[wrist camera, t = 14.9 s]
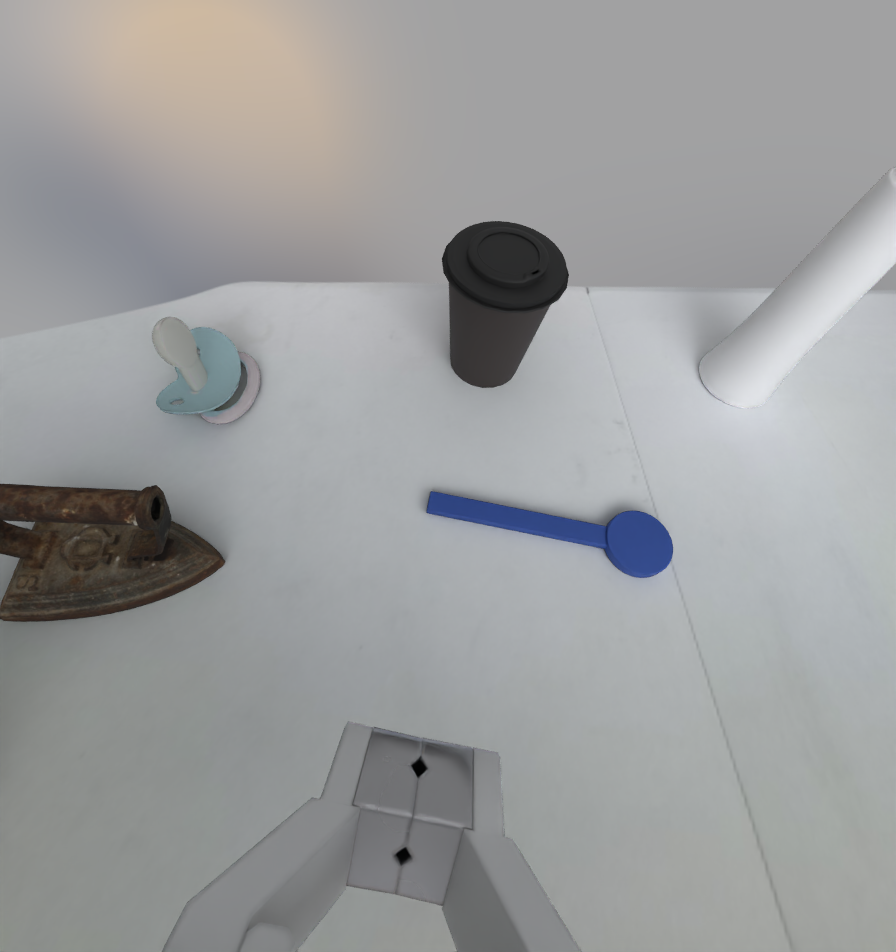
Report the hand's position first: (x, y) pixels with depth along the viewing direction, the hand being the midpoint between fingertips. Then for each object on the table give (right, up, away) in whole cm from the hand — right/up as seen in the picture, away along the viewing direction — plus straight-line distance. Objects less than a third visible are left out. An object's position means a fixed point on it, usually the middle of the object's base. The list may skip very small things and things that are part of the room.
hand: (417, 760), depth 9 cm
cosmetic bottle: (+24, +13, +30) cm, 41 cm away
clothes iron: (-18, 0, +19) cm, 26 cm away
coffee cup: (+3, +15, +29) cm, 32 cm away
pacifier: (-16, +12, +25) cm, 32 cm away
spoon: (+7, +2, +22) cm, 24 cm away
